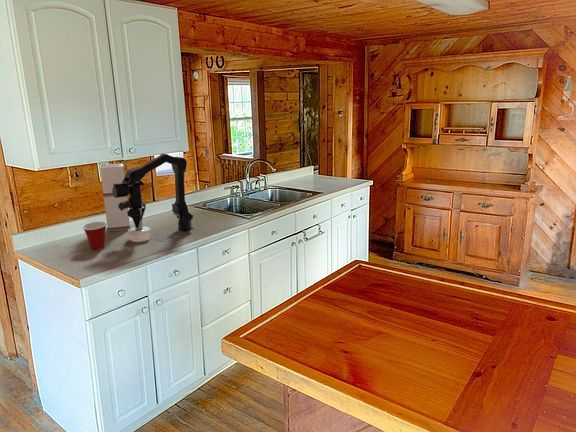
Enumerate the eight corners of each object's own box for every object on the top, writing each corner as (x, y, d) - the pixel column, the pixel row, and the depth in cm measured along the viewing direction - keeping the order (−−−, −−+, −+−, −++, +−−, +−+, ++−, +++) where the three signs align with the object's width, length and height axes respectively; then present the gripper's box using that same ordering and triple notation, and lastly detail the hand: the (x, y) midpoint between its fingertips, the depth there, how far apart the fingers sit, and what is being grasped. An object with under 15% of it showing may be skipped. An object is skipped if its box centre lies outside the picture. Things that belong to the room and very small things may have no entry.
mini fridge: (129, 224, 254) (123, 163, 245) (130, 229, 244) (123, 166, 235) (108, 226, 250) (100, 165, 241) (108, 231, 240) (100, 167, 231)
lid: (141, 227, 232) (140, 217, 230) (155, 230, 226) (154, 220, 224) (123, 232, 223) (122, 222, 222) (136, 235, 217) (135, 225, 216)
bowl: (142, 236, 232) (141, 227, 230) (153, 238, 227) (152, 230, 225) (127, 240, 225) (126, 232, 223) (138, 243, 219) (137, 234, 218)
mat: (167, 233, 235) (167, 233, 235) (181, 237, 229) (181, 236, 229) (150, 239, 226) (150, 238, 226) (164, 242, 220) (164, 242, 220)
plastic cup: (80, 250, 211) (76, 226, 208) (98, 243, 220) (95, 220, 217) (95, 253, 206) (92, 228, 203) (114, 246, 215) (111, 223, 212)
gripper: (122, 191, 227) (125, 221, 231) (114, 199, 209) (118, 231, 213) (144, 190, 229) (147, 219, 233) (139, 198, 211) (142, 229, 215)
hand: (138, 225), depth 224 cm, fingers open, 9 cm apart
